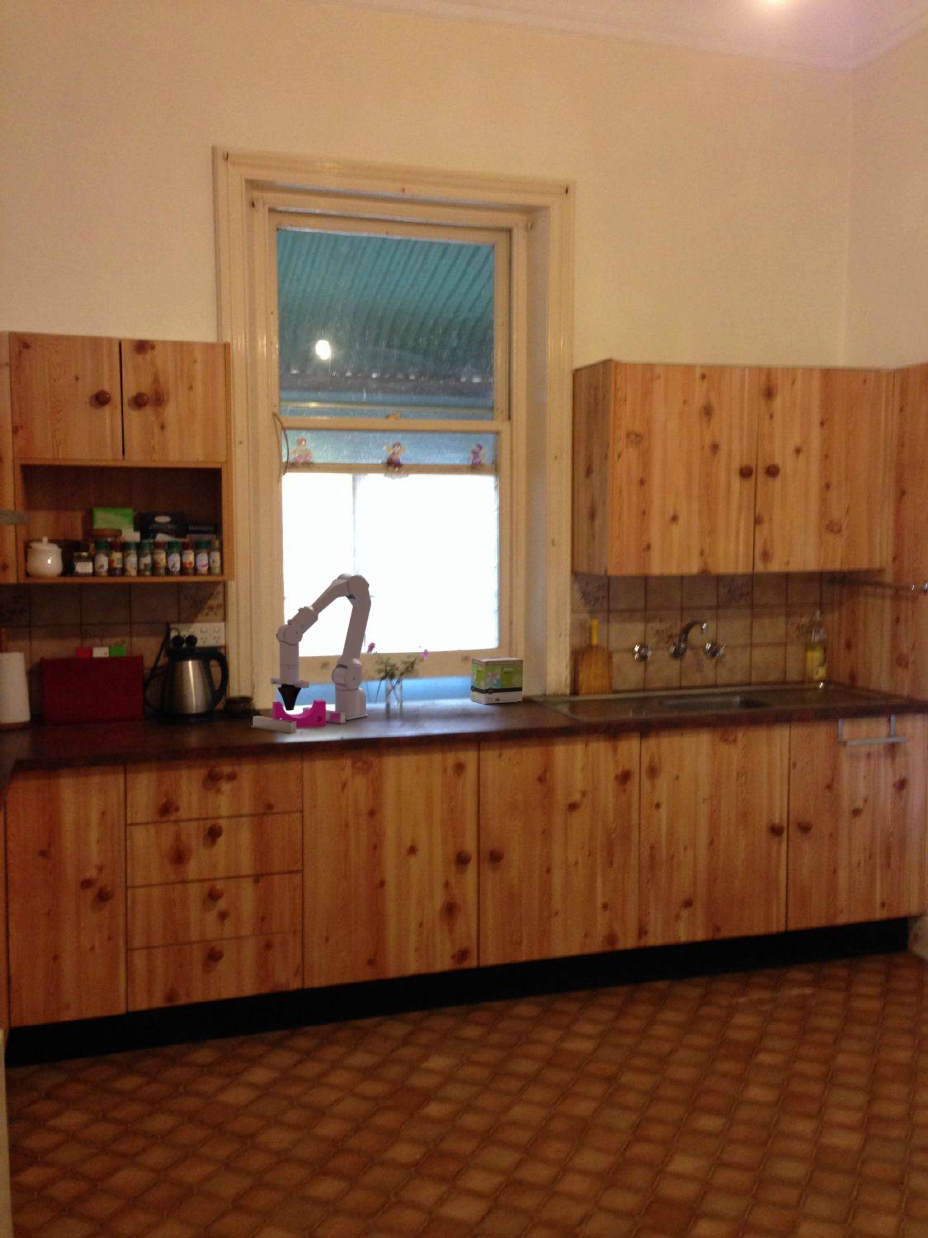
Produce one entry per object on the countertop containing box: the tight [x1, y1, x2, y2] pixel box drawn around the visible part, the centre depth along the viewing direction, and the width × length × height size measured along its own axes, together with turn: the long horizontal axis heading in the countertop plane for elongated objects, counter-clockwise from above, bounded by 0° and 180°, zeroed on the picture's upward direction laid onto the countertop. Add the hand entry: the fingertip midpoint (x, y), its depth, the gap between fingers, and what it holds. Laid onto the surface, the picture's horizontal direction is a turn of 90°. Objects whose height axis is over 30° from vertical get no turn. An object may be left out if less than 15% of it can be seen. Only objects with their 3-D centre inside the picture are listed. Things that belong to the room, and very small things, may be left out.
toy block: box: [272, 698, 327, 729], centre depth 320 cm, size 15×6×8 cm, turn 112°
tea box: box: [470, 656, 524, 705], centre depth 366 cm, size 15×10×15 cm, turn 119°
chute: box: [250, 706, 348, 734], centre depth 321 cm, size 24×16×3 cm
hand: (289, 710), depth 323 cm, fingers closed
